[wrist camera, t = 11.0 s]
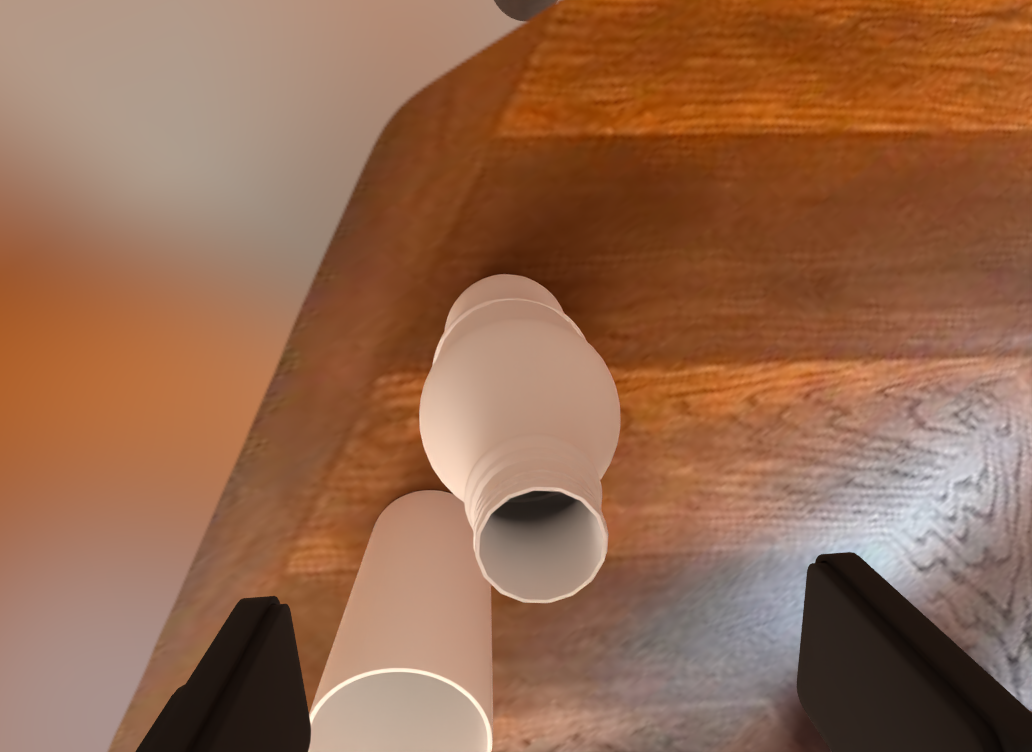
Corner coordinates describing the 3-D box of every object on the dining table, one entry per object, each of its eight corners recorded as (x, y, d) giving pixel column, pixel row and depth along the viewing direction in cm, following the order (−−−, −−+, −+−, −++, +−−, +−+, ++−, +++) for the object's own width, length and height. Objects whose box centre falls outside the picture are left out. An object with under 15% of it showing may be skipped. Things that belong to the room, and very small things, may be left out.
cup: (403, 609, 42) (357, 839, 27) (350, 517, 40) (267, 710, 25) (508, 567, 42) (522, 777, 26) (460, 471, 39) (444, 639, 24)
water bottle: (484, 400, 38) (483, 726, 14) (426, 306, 36) (310, 496, 12) (581, 346, 38) (752, 592, 13) (526, 247, 36) (611, 327, 12)
